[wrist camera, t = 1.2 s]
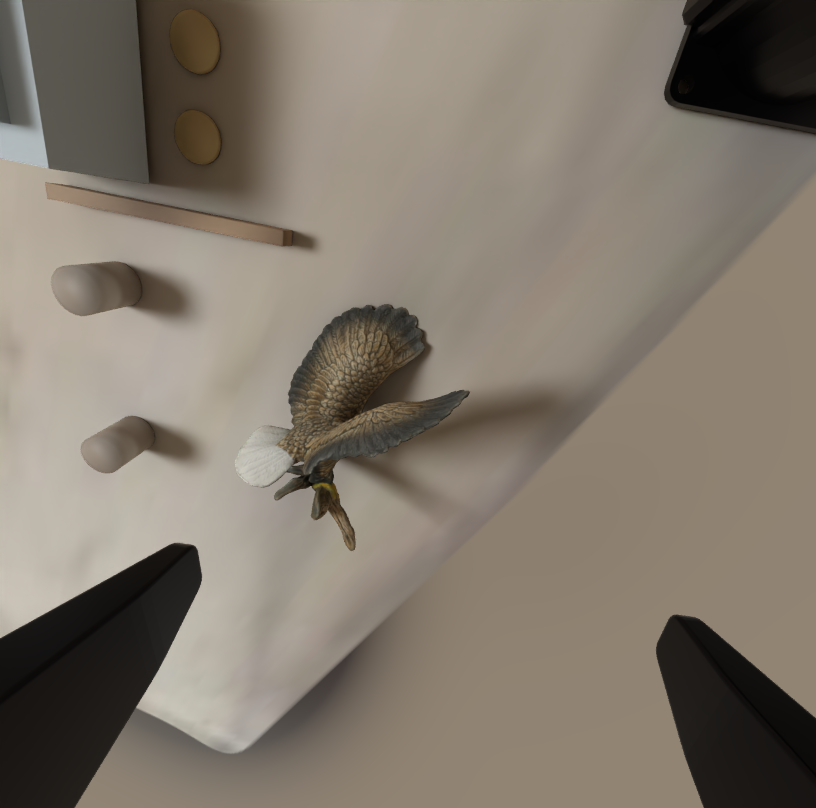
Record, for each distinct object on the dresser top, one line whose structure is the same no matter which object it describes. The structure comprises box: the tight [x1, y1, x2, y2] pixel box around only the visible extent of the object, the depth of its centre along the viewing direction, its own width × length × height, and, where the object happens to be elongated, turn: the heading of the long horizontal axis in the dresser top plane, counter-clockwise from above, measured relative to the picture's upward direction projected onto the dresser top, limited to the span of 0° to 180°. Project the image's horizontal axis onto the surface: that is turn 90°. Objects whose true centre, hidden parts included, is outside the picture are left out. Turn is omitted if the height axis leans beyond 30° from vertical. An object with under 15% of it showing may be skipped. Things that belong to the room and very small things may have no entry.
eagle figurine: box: [235, 304, 470, 551], centre depth 17 cm, size 8×7×9 cm
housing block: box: [0, 0, 149, 184], centre depth 13 cm, size 4×7×5 cm, turn 169°
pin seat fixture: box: [45, 9, 292, 473], centre depth 17 cm, size 10×19×2 cm, turn 169°
